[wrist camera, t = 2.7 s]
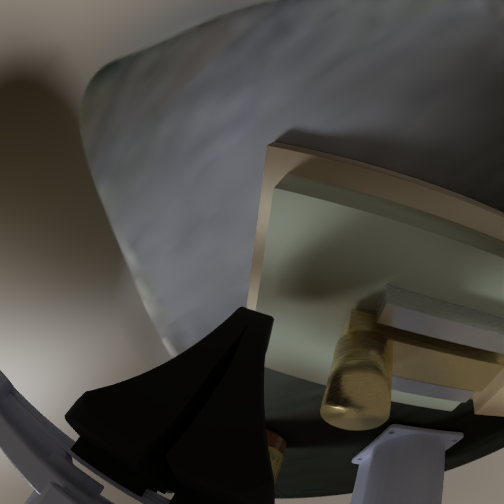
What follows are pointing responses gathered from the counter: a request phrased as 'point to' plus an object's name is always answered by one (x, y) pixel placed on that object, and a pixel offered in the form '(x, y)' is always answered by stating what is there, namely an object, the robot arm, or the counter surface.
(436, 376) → the bolt
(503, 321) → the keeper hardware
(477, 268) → the door and jamb
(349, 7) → the counter surface
